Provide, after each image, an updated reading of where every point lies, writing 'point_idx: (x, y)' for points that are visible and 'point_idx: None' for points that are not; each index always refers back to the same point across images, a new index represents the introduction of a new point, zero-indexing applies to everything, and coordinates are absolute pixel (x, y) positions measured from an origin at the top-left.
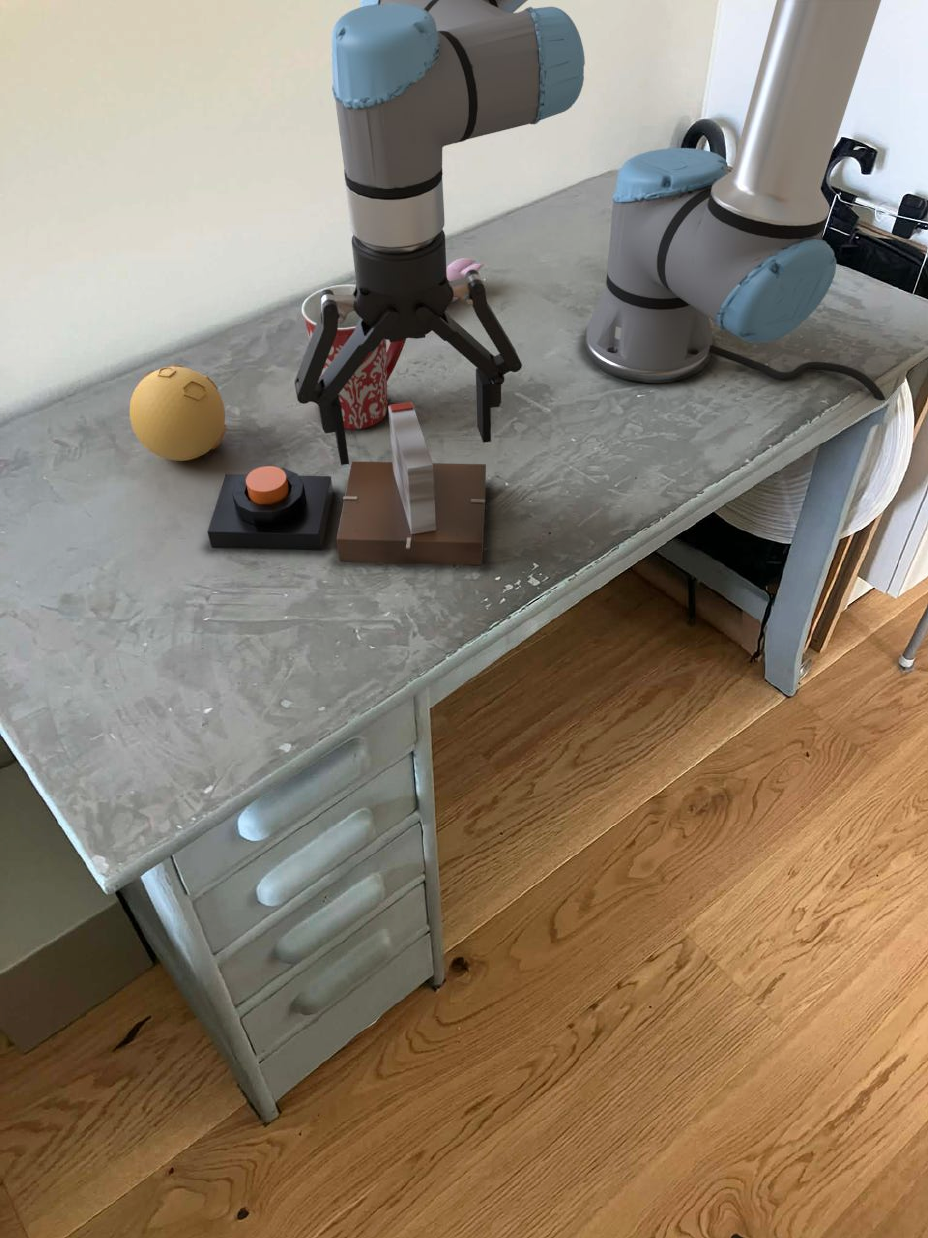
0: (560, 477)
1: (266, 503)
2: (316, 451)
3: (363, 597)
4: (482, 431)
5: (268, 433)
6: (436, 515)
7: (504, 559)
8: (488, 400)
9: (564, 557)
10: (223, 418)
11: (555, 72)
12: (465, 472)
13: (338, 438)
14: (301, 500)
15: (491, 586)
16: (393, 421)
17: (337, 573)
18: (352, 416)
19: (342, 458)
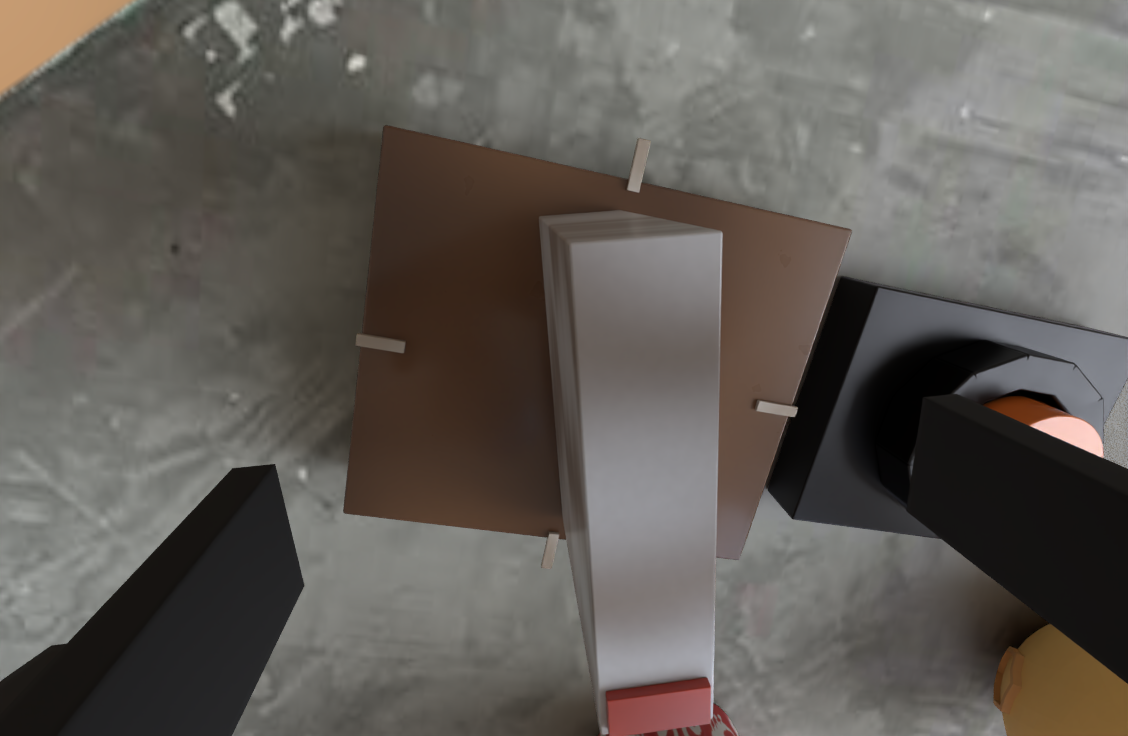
0: (136, 484)
1: (1025, 397)
2: (776, 630)
3: (768, 57)
4: (254, 510)
5: (866, 691)
6: (527, 292)
7: (328, 150)
8: (52, 677)
9: (125, 124)
10: (1048, 724)
11: None
12: (412, 483)
13: (1101, 462)
14: (918, 407)
15: (379, 27)
16: (712, 617)
17: (817, 177)
18: (691, 728)
19: (976, 408)
